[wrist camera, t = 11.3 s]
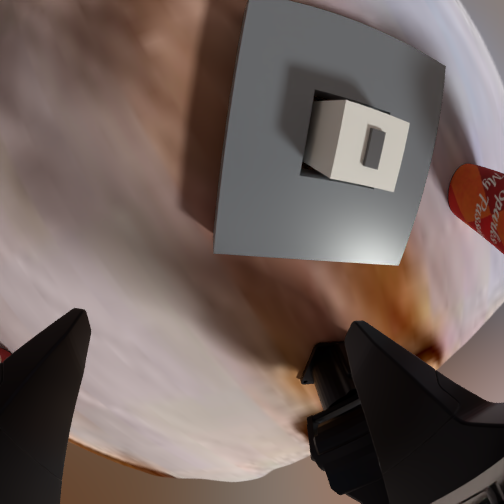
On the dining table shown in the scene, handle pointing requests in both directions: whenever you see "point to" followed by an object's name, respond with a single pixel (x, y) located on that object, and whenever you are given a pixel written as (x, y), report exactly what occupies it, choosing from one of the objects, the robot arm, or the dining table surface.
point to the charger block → (355, 143)
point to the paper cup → (479, 201)
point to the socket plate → (295, 134)
